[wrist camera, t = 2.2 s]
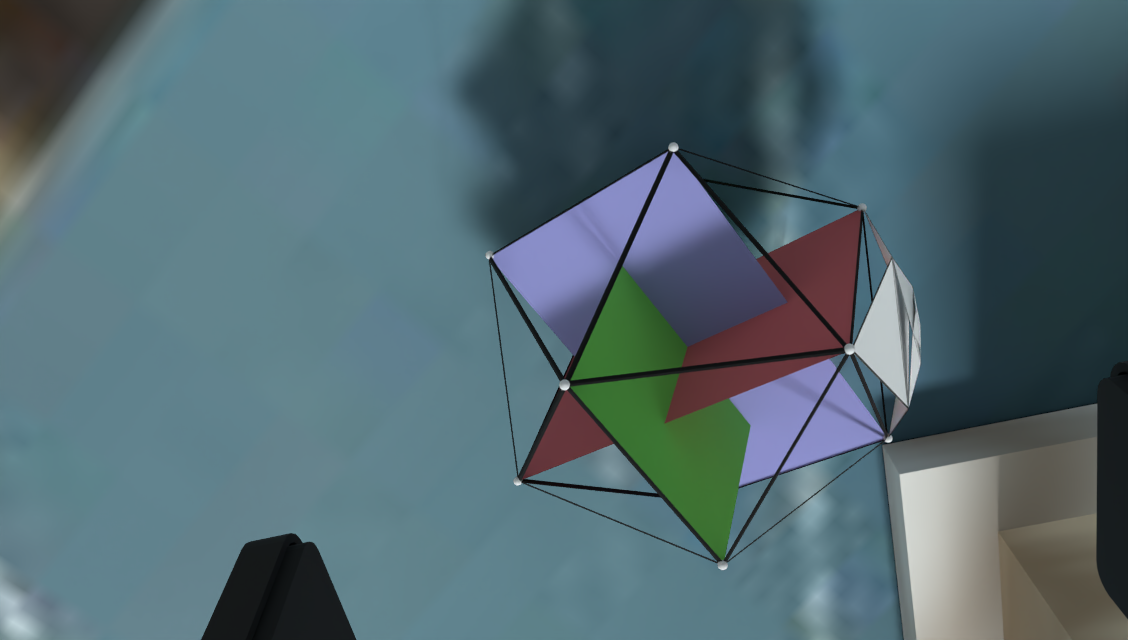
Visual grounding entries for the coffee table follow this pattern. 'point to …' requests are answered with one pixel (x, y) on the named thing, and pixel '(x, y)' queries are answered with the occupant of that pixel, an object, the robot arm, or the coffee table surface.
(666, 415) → the geometric puzzle
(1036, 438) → the tower base
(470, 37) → the coffee table surface
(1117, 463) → the robot arm
